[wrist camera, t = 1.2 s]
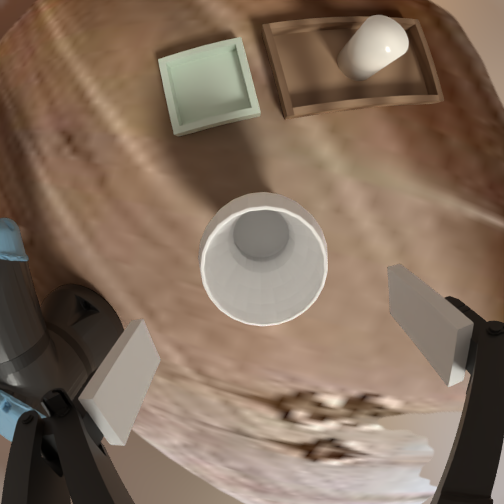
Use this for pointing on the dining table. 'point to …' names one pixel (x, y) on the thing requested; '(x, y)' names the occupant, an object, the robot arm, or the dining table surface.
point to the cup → (263, 259)
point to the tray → (330, 76)
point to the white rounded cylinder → (372, 48)
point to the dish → (208, 86)
